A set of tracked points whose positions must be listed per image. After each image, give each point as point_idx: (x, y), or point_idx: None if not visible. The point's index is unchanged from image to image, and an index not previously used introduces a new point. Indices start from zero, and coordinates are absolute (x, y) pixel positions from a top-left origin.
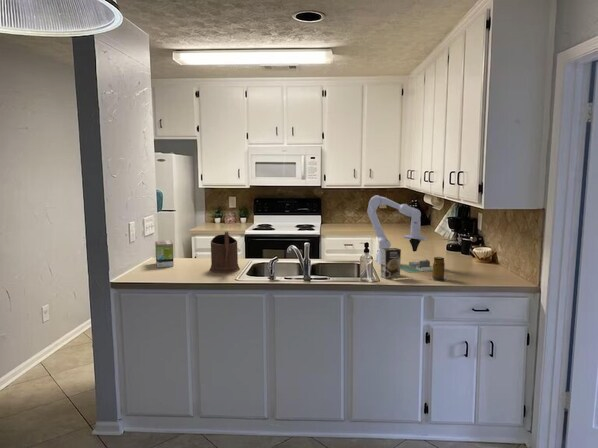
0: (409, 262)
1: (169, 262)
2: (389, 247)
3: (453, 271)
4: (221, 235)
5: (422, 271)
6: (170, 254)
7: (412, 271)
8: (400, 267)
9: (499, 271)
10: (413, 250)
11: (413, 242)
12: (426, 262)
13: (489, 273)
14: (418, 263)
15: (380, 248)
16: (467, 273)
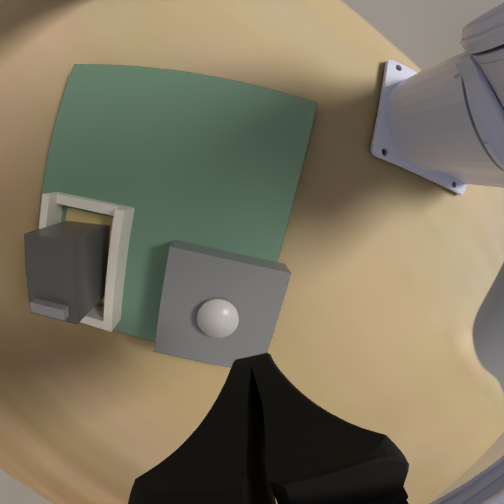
0: (281, 269)
1: None
2: (484, 40)
3: (41, 390)
4: None
5: (48, 189)
6: None
7: (86, 112)
8: (255, 119)
9: (30, 478)
10: (255, 359)
11: (237, 461)
12: (31, 269)
13: (4, 442)
14: (184, 301)
15: (499, 5)
16: (3, 396)
